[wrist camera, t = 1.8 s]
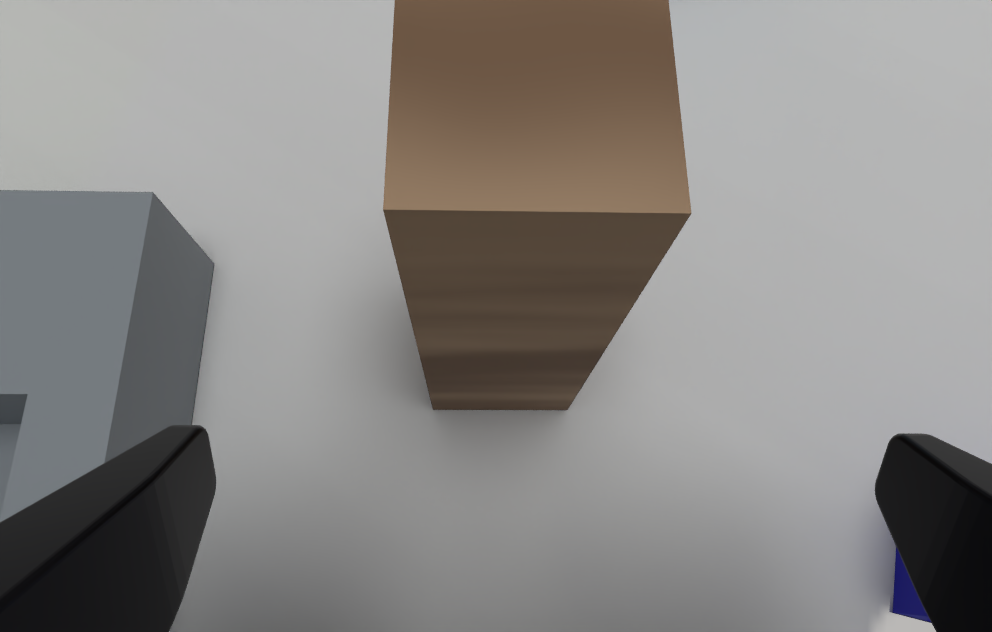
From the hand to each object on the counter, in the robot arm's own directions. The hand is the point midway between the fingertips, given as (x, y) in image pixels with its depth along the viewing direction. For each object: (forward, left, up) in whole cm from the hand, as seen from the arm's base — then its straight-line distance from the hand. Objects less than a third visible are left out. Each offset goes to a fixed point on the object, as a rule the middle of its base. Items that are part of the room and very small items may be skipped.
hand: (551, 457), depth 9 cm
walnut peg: (+5, +1, -11) cm, 12 cm away
